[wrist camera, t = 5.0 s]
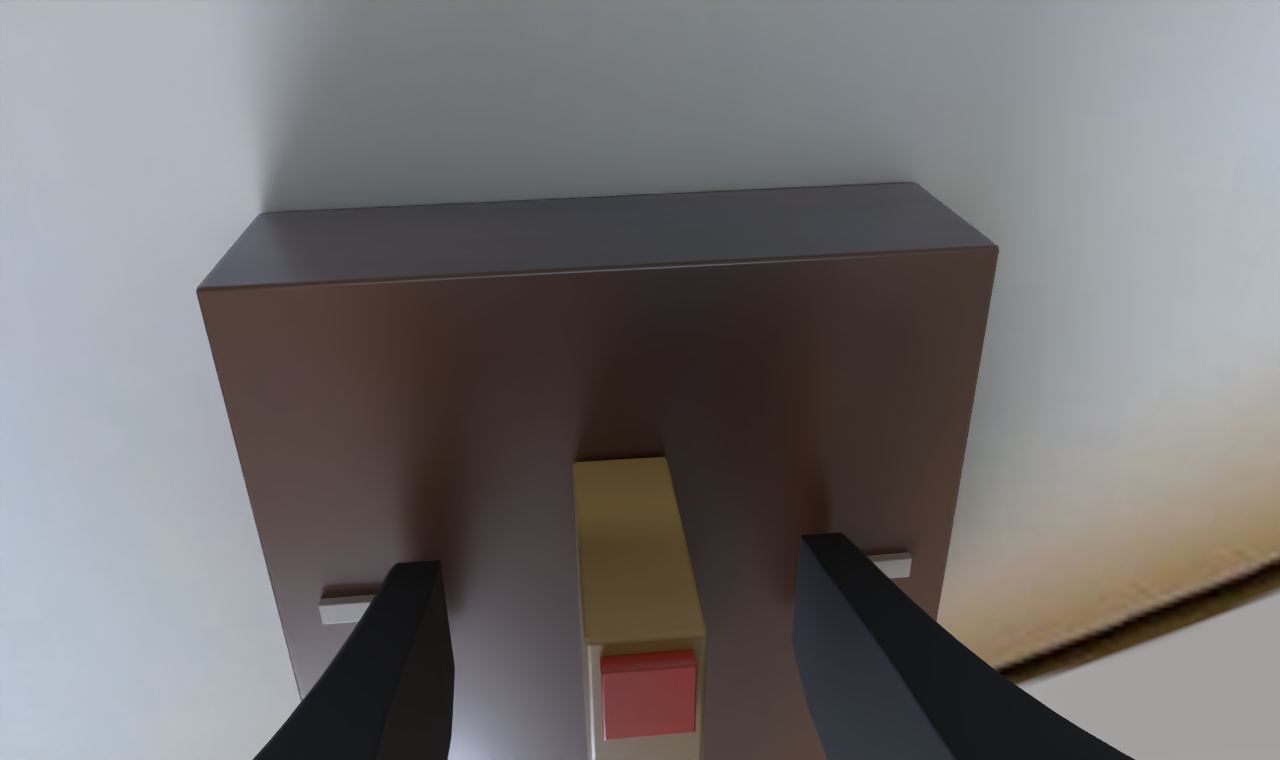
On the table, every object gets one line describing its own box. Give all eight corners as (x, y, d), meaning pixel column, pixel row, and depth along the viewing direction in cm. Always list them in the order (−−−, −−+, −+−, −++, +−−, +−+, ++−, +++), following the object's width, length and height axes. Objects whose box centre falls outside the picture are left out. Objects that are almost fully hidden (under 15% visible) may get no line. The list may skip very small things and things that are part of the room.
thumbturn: (665, 693, 15) (702, 920, 12) (583, 700, 15) (597, 931, 12) (666, 454, 13) (712, 649, 10) (571, 460, 13) (585, 658, 9)
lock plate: (363, 703, 18) (333, 848, 16) (258, 211, 14) (189, 294, 11) (859, 659, 19) (914, 790, 17) (917, 181, 15) (1006, 250, 12)
